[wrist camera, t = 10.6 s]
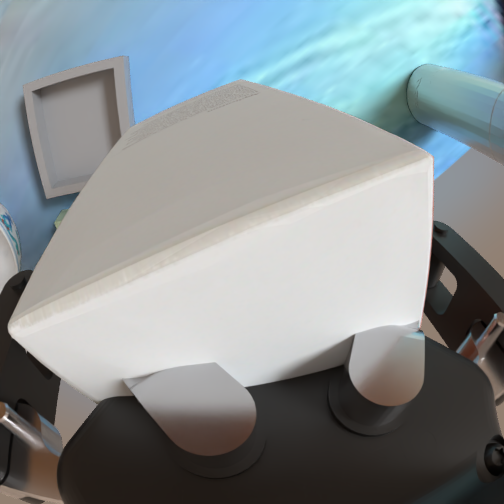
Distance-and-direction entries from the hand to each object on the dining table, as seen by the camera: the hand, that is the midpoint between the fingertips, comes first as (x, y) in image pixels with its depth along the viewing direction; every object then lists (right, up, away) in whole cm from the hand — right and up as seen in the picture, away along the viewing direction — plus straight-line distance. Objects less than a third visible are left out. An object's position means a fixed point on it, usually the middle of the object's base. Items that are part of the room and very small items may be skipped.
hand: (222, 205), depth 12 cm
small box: (-1, +3, +4) cm, 5 cm away
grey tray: (-16, +12, +15) cm, 25 cm away
